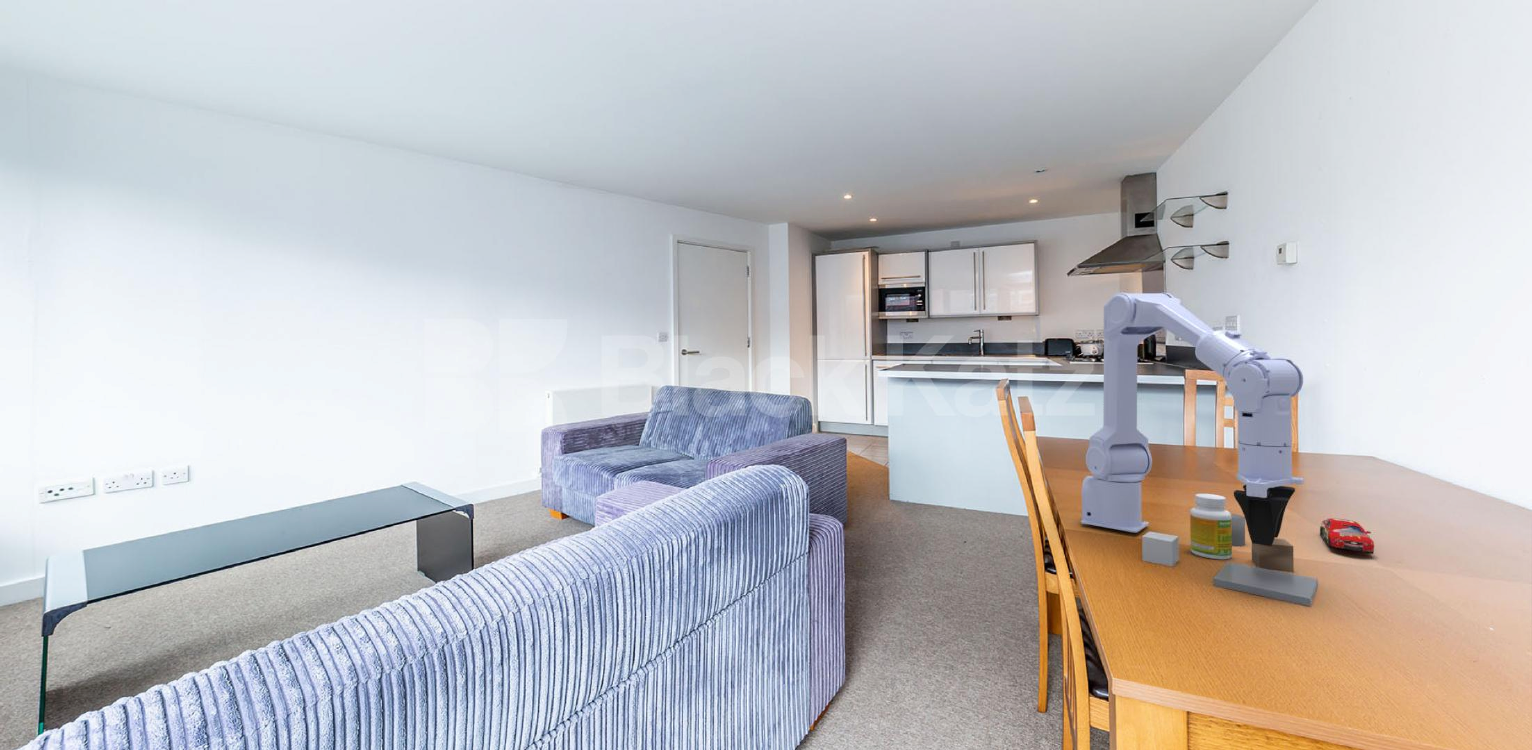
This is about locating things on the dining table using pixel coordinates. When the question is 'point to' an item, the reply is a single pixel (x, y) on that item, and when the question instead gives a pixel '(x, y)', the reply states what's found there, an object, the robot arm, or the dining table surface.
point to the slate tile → (1267, 583)
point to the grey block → (1160, 548)
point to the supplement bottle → (1211, 527)
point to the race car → (1346, 535)
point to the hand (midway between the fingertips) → (1265, 539)
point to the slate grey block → (1238, 530)
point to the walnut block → (1274, 556)
